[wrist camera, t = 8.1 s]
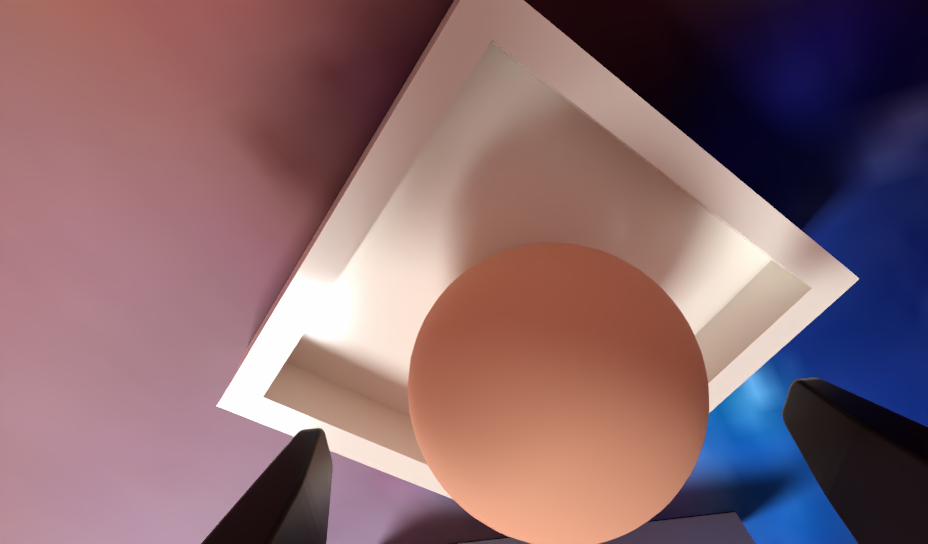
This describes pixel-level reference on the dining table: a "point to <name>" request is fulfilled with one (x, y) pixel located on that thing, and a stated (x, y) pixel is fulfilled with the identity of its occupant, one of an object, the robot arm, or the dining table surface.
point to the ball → (558, 394)
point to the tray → (515, 231)
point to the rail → (675, 532)
